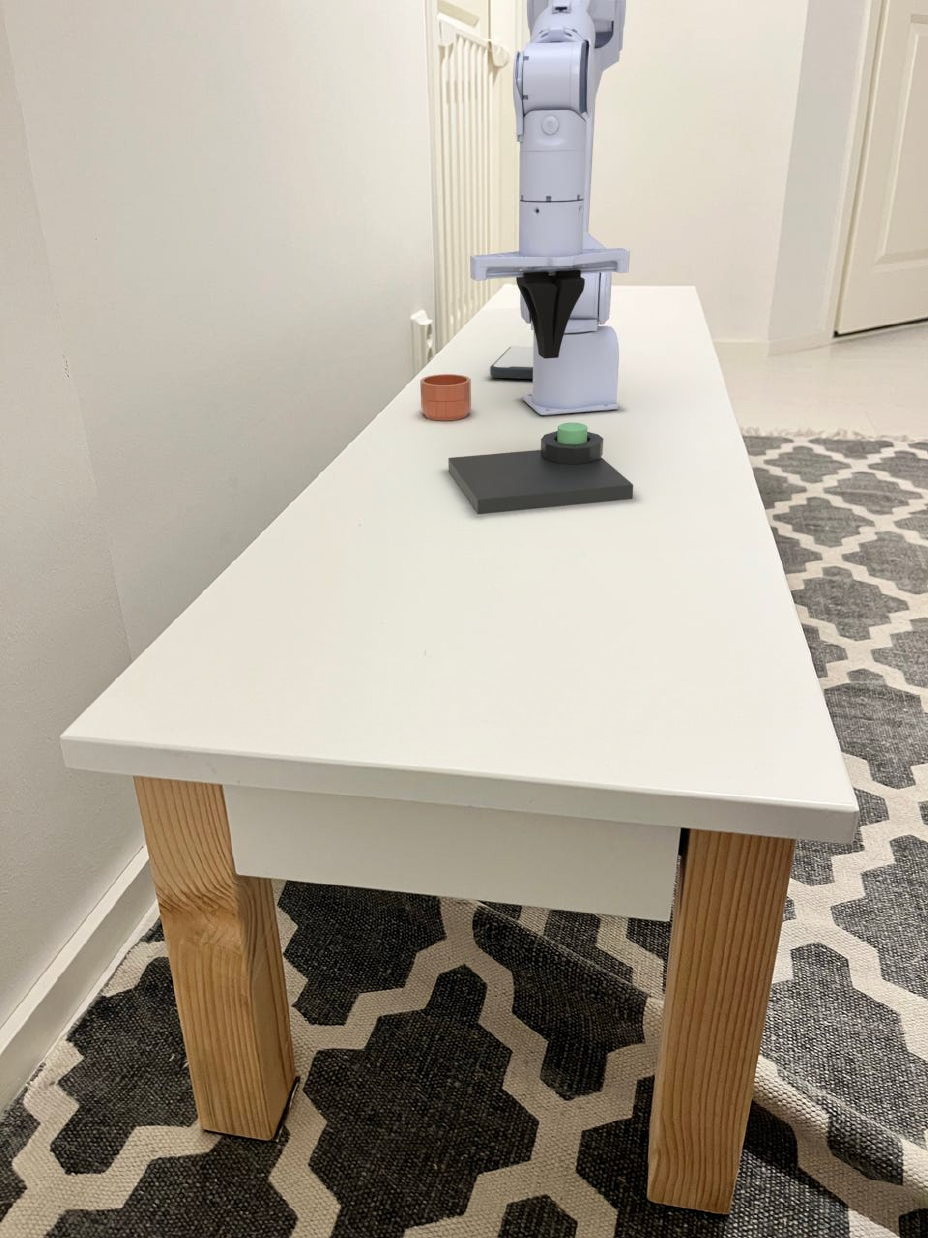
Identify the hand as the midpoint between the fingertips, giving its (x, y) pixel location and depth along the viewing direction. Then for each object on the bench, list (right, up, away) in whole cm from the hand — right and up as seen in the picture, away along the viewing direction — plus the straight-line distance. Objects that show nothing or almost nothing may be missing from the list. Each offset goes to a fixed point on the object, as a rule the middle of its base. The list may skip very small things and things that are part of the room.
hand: (548, 356), depth 92 cm
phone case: (+1, +9, +40) cm, 41 cm away
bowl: (-10, -1, +19) cm, 22 cm away
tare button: (+2, -8, 0) cm, 8 cm away
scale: (-1, -13, -3) cm, 13 cm away
